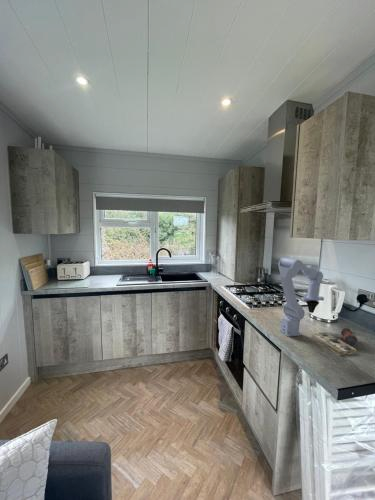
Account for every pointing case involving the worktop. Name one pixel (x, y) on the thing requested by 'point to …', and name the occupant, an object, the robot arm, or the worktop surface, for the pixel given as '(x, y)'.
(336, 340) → the button middle
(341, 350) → the button board
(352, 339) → the supplement bottle
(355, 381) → the worktop surface
